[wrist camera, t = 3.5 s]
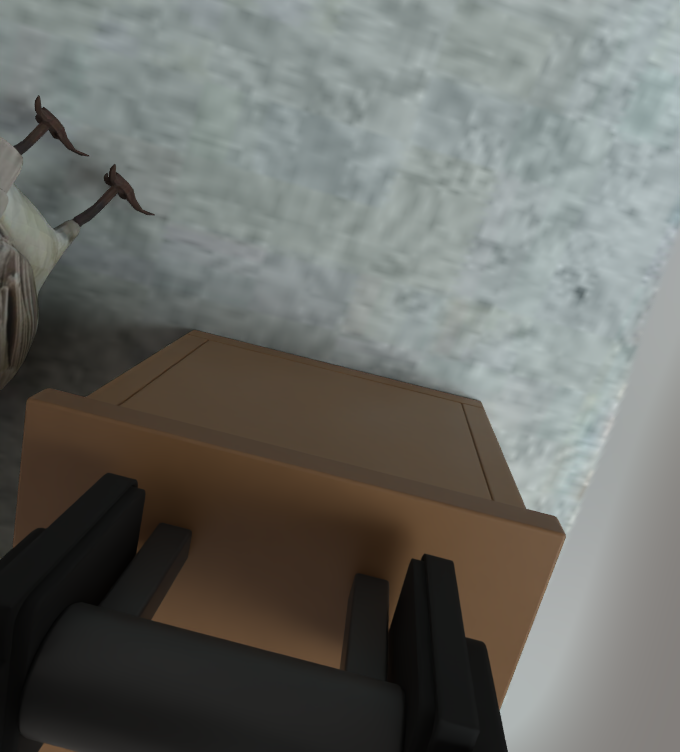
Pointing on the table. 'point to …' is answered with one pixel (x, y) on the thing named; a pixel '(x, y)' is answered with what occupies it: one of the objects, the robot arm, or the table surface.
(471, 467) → the brown wooden open box
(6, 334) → the decorative bird
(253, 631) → the drawer panel with handle
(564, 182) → the table surface
